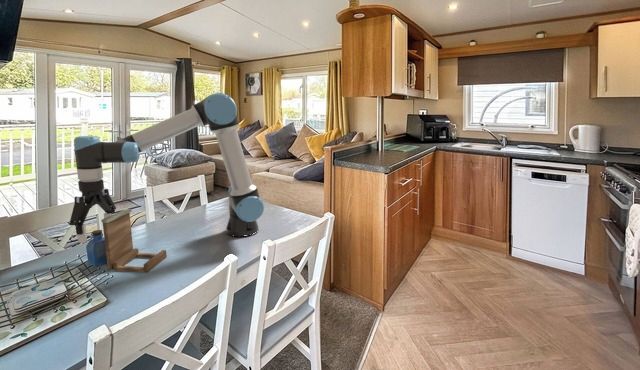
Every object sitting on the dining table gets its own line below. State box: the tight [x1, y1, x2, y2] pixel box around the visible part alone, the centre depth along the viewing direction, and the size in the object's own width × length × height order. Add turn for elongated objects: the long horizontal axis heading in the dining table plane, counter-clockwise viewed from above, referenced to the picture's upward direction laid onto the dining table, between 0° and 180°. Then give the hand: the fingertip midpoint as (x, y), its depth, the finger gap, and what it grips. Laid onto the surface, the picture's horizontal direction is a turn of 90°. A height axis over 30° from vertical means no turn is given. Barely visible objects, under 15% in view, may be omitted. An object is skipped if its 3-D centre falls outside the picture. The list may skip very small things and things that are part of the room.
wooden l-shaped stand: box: [100, 208, 168, 273], centre depth 125 cm, size 15×14×19 cm
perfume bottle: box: [85, 229, 107, 267], centre depth 126 cm, size 6×6×12 cm
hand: (96, 235), depth 125 cm, fingers open, 13 cm apart
